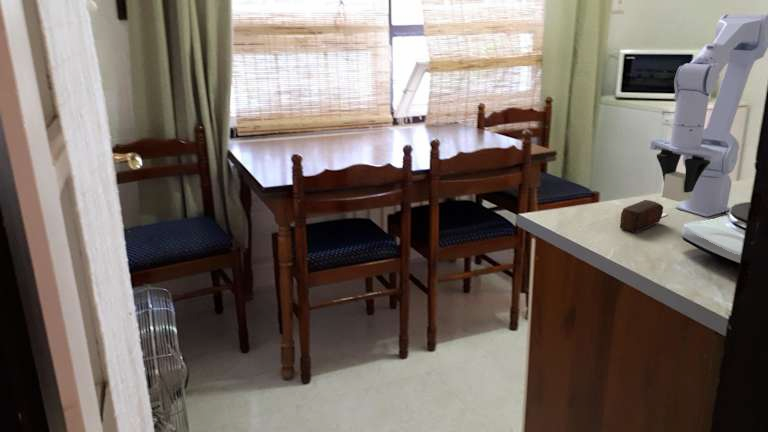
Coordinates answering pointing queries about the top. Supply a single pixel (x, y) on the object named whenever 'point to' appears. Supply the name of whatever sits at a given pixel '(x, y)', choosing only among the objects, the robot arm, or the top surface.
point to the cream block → (675, 187)
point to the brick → (641, 215)
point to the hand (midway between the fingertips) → (678, 188)
